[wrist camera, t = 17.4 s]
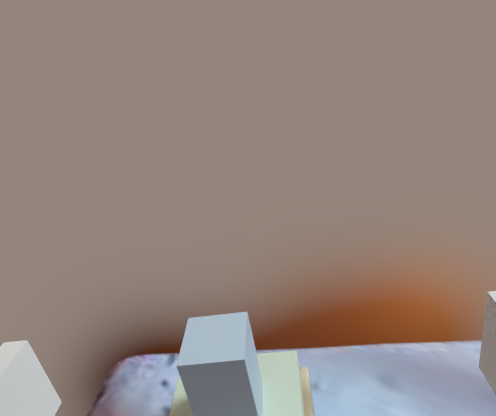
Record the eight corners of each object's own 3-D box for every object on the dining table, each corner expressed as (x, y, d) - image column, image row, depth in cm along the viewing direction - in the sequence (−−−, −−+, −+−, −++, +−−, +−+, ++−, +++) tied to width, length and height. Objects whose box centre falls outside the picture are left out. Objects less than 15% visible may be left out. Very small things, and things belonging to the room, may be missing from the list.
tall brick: (262, 381, 43) (247, 311, 38) (262, 434, 37) (244, 359, 33) (209, 386, 43) (188, 318, 39) (201, 438, 38) (176, 366, 34)
